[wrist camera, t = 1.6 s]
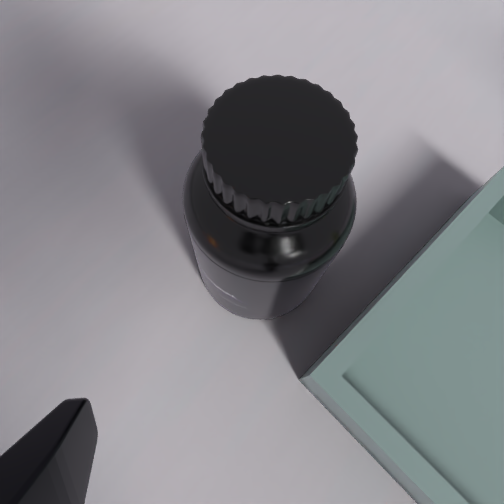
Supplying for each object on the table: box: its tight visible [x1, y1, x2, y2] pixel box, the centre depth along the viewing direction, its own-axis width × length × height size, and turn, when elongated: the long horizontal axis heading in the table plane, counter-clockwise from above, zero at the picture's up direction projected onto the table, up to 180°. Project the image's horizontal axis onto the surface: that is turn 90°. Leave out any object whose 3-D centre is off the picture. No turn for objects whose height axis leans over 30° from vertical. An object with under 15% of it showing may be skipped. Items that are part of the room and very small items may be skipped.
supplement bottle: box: [183, 75, 358, 320], centre depth 17 cm, size 7×7×12 cm
